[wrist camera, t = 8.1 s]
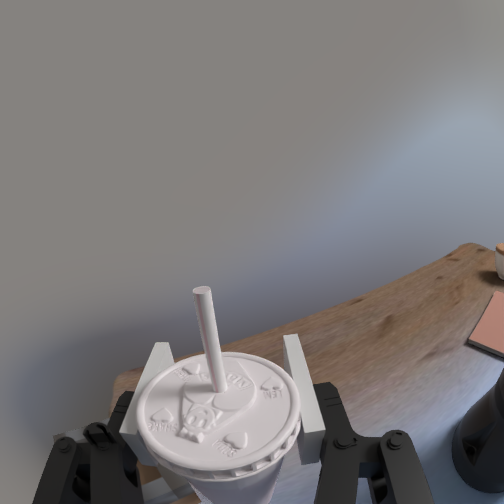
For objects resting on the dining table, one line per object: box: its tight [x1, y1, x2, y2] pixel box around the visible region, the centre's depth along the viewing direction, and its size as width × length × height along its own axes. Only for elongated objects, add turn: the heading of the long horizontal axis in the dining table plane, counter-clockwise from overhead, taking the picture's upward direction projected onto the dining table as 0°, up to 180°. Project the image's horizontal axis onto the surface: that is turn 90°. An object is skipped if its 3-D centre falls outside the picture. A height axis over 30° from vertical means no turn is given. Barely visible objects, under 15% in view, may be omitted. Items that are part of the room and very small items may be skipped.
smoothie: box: [135, 286, 301, 504], centre depth 10 cm, size 6×6×14 cm
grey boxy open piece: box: [53, 418, 201, 504], centre depth 19 cm, size 12×12×6 cm
